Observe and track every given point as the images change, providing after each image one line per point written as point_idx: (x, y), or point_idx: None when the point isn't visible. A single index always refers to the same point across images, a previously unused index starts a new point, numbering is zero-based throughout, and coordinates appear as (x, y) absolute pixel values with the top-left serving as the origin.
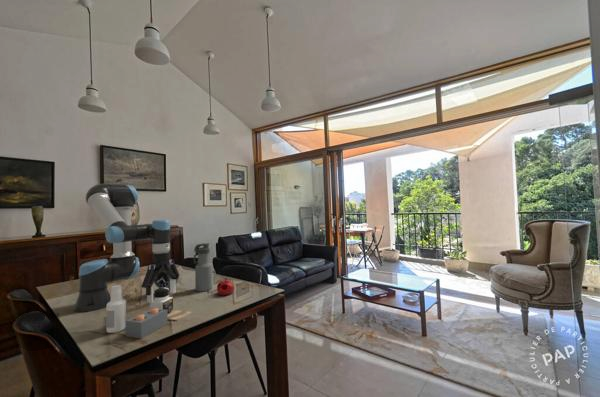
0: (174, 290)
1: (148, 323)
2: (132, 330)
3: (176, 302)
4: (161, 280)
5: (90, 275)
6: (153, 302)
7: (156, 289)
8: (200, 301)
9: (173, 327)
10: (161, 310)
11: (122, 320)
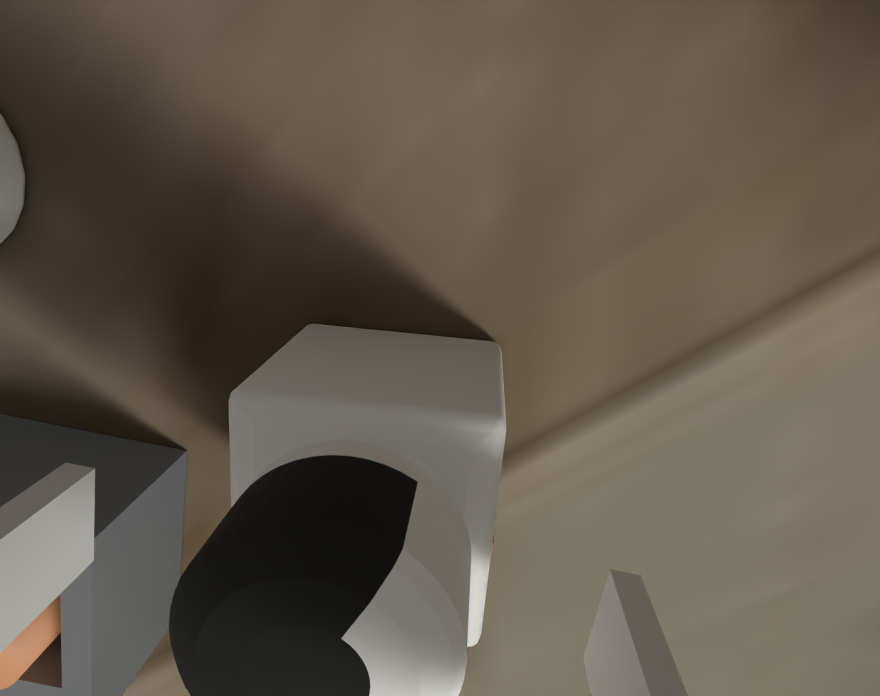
0: (593, 694)
1: None
2: None
3: (830, 376)
4: None
5: None
6: (231, 458)
7: (269, 567)
8: (830, 666)
9: (130, 693)
10: (62, 682)
11: None
